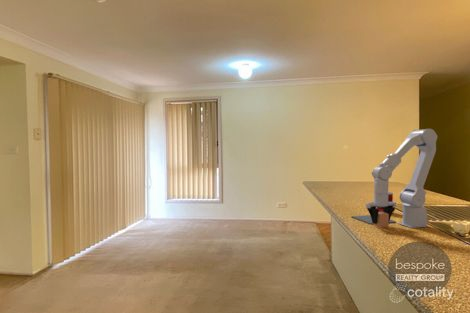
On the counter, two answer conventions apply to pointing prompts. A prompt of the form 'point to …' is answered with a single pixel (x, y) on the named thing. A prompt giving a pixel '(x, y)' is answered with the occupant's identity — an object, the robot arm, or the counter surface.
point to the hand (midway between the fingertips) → (380, 223)
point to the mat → (367, 219)
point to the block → (382, 220)
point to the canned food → (390, 199)
